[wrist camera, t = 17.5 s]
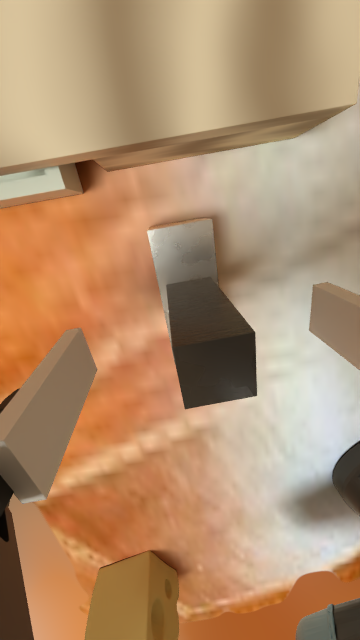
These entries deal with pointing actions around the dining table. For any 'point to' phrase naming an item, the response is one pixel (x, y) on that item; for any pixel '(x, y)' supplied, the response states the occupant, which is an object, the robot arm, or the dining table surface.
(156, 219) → the dining table surface
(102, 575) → the cheese
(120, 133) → the ledge
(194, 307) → the scraper
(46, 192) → the box
